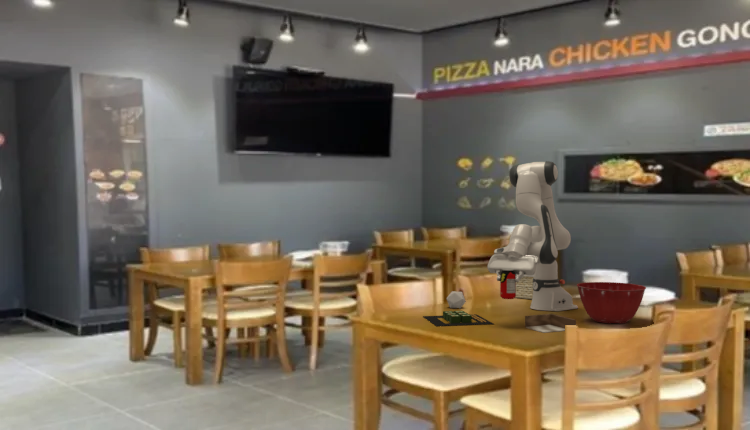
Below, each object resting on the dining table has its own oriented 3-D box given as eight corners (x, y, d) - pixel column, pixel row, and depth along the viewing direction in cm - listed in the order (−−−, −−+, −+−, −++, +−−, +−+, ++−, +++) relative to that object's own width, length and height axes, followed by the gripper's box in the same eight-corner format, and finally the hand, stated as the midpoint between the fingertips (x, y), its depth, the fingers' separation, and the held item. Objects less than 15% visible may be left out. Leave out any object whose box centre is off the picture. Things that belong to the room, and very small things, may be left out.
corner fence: (551, 324, 331) (551, 313, 331) (575, 330, 316) (575, 319, 316) (522, 326, 325) (522, 316, 325) (546, 333, 310) (546, 322, 310)
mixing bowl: (617, 314, 356) (617, 280, 356) (660, 324, 330) (660, 287, 329) (563, 318, 346) (563, 283, 346) (603, 329, 320) (604, 291, 319)
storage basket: (500, 296, 413) (500, 268, 412) (518, 293, 424) (518, 266, 424) (540, 301, 396) (540, 272, 396) (557, 298, 408) (557, 269, 407)
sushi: (494, 325, 331) (494, 317, 331) (436, 328, 327) (436, 319, 327) (476, 316, 356) (476, 308, 356) (422, 318, 352) (422, 309, 352)
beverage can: (513, 297, 329) (514, 268, 329) (517, 299, 323) (517, 270, 322) (498, 297, 329) (499, 268, 329) (501, 299, 323) (501, 270, 322)
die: (468, 308, 378) (459, 291, 382) (468, 302, 370) (459, 284, 375) (452, 315, 377) (444, 297, 382) (452, 308, 370) (444, 291, 374)
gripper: (541, 260, 330) (533, 286, 322) (494, 258, 340) (486, 284, 332) (537, 251, 326) (530, 277, 318) (491, 249, 336) (482, 274, 328)
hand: (507, 280), depth 325 cm, fingers closed on beverage can, 6 cm apart
